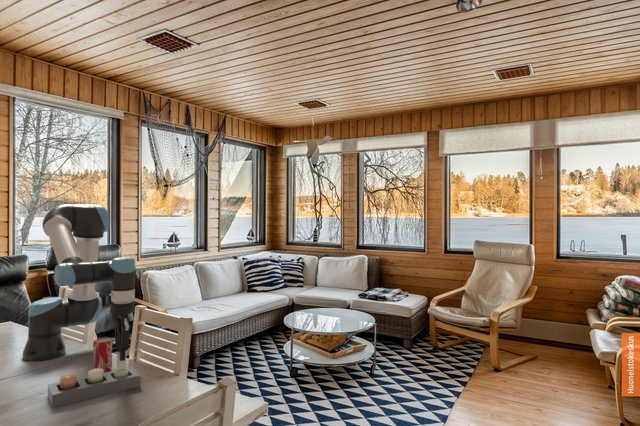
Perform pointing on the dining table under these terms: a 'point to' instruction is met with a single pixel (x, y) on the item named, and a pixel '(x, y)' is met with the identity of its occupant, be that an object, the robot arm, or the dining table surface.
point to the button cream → (95, 375)
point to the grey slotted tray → (92, 388)
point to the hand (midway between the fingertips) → (121, 368)
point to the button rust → (68, 381)
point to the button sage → (120, 373)
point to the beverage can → (103, 354)
